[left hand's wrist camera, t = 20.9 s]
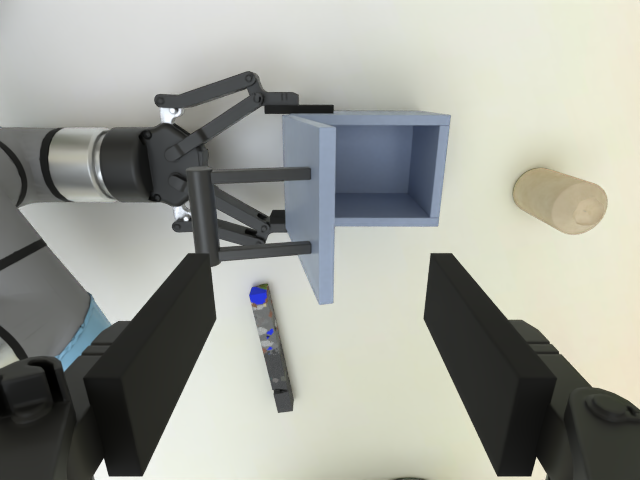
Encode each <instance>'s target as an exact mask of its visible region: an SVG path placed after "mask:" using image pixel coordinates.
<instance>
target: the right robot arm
mask: <svg viewBox="0 0 640 480" xmlns="http://www.w3.org/2000/svg"><path fill="white" fill-rule="evenodd" d="M245 89H247V90H248V92H249V95H250V96H249V97H247V98H246V99H244V100H243V101H241V102H240V103H238V104H237V105H235V106H233V107H232V108H230V109H229V110H227V111H226V112H224V113H223V114H221V115H220V116H218V117H217V118H215V119H214V120H212V121H211V122H209V123H208V124H206V125H205V126H203V127H202V128H200V129H198V130H197V131H195V132H193V133H192V134H190V133H188V132H187V131H185V130H184V129H182V128H181V127H179V126H178V125H176V124H175V123H174V121H175V119H176V118H177V117H179V116H182V115H183V114H184V108H189V107H194V106H197V105H200V104H203V103H206V102H209V101H212V100H215V99H218V98H221V97H224V96H227V95H230V94H233V93H236V92H239V91H242V90H245ZM154 101H155V104H156V105H157V106H158V107H160V117H161V124H159V125H157V126H156V127H116V128H112V129H108V128H106V127H66V128H2V127H0V368H3V367H5V366H7V365H9V364H11V363H13V362H16V361H19V360H23V359H26V358H29V357H36V356H52V357H56V358H57V359H58V360H60V361H61V363H62V367H63V370H64V371H65V370H66V369H67V368H68V367H69V366H70V365H71V364H72V363H73V362H74V361H75V359H76V358H77V357H78V356H81V353H82V352H83V351H84V350H85V349H86V348H87V347H88V346H90V345H91V342H92V341H93V340H94V339H95V338H96V337H97V336H98V335H99V334H100V333H101V332H102V331H103V330H105V329H106V328H108V327H110V326H111V324H110V322H109V321H108V319H107V318H106V317H105V315H104V314H103V312H102V311H101V310H100V308H99V307H98V305H97V304H96V302H95V301H94V298H93V297H92V295H91V294H90V293H88V292H87V291H86V290H85V289H84V288H83V287H82V286H81V285H80V283H79V282H78V281H77V280H76V279H75V278H74V276H73V275H72V274H71V273H70V272H69V271H68V269H67V268H66V267H65V266H64V265H63V264H62V262H61V261H60V260H59V259H58V258H57V257H56V256H55V254H54V253H53V252H52V251H51V250H50V249H49V247H48V246H47V244H46V243H45V242H44V241H43V239H42V238H41V236H40V235H39V234H38V233H37V232H36V230H35V229H34V228H33V227H32V225H31V224H30V223H29V222H28V221H27V219H26V218H25V217H24V216H23V214H22V213H21V212H20V211H19V210H18V208H19V207H22V206H24V205H27V204H31V203H39V202H116V201H120V202H162V203H166V204H168V205H170V206H172V207H173V212H174V217H175V222H174V223H173V224H172V228H173V230H174V231H175V232H193V228H192V219H191V211H190V209H188V208H186V206H185V204H184V203H186V202H187V201H188V200H189V194H188V186H187V178H186V169H187V168H190V167H208V164H207V163H208V157H209V156H208V149H206V147H205V146H204V144H205V143H207V142H208V141H210V140H211V139H213V138H214V137H215V136H217V135H218V134H220V133H221V132H223V131H224V130H226V129H227V128H229V127H230V126H232V125H234V124H235V123H237V122H238V121H240V120H241V119H243V118H244V117H246V116H247V115H249V114H250V113H252V112H253V111H255V110H256V109H258V108H260V107H261V106H264V107H265V114H291V113H317V114H334V105H299V95H298V94H296V93H294V92H266V91H265V90H264V89H263V88H262V86H261V83H260V81H259V77H258V75H257V74H255V73H253V72H250V71H247V72H244V73H241V74H238V75H235V76H232V77H229V78H227V79H224V80H221V81H218V82H215V83H212V84H209V85H206V86H203V87H200V88H197V89H195V90H192V91H189V92H186V93H183V94H180V95H172V94H158V95H156V96H155V99H154ZM214 192H215V202H216V209H218V210H220V211H222V212H224V213H226V214H227V215H229V216H231V217H233V218H235V219H237V220H238V221H240V222H242V223H244V224H246V225H247V226H249V227H251V228H253V229H251V228H247V227H244V226H240V225H237V224H234V223H230V222H227V221H223V220H220V219H217V223H218V233H219V239H222V240H226V241H229V242H233V243H236V244H240V245H243V246H245V245H258V244H265V243H266V240H267V237H268V235H269V234H270V233H274V232H287V230H286V221H285V210H273V211H272V213H271V215H270V217H268V216H267V215H265V214H263V213H261V212H259V211H258V210H256V209H254V208H252V207H250V206H249V205H247V204H245V203H243V202H241V201H240V200H238V199H236V198H234V197H233V196H231V195H229V194H227V193H225V192H224V191H222V190H220V189H219V188H218V187H217V186H216V185H214ZM254 229H255V230H254Z"/></svg>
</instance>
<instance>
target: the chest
mask: <svg viewBox="0 0 640 480" xmlns="http://www.w3.org/2000/svg"><path fill="white" fill-rule="evenodd" d="M289 115H294V116H297V117H301V118H305V119H308V120H312V121H315V122H319V123H323V124H326V125H330V126H333V127H336V166H335V226H438V222H439V213H440V205H441V196H442V187H443V179H444V170H445V161H446V152H447V144H448V135H449V125H450V118H451V115H446V114H438V113H431V112H424V111H334V114H317V113H291V114H289Z"/></svg>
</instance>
